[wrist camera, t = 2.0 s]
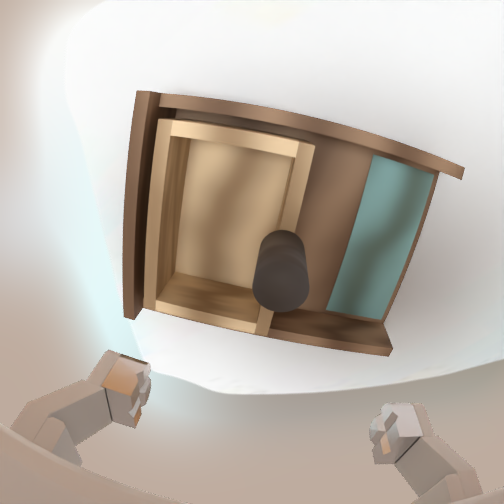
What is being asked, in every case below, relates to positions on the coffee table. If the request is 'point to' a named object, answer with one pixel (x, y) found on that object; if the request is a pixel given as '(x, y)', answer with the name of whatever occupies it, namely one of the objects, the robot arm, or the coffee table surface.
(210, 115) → the bay
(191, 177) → the crate
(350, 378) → the coffee table surface
